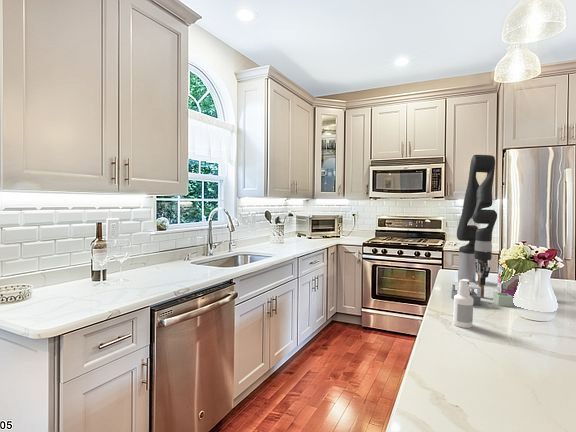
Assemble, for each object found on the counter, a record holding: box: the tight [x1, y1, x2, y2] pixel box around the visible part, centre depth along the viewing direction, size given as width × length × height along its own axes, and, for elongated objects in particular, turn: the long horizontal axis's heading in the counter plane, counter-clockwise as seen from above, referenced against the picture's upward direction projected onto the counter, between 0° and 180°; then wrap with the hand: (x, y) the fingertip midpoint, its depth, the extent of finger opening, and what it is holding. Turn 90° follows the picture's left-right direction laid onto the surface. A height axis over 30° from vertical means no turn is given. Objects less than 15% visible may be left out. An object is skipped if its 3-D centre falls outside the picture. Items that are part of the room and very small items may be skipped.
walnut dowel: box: [477, 272, 485, 299], centre depth 177 cm, size 3×3×13 cm
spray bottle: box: [452, 279, 474, 329], centre depth 139 cm, size 7×7×18 cm
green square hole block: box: [492, 291, 514, 307], centre depth 166 cm, size 6×6×5 cm
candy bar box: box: [496, 264, 519, 296], centre depth 180 cm, size 11×5×16 cm, turn 84°
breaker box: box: [450, 280, 482, 306], centre depth 170 cm, size 10×10×8 cm
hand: (481, 284), depth 177 cm, fingers closed on walnut dowel, 2 cm apart
